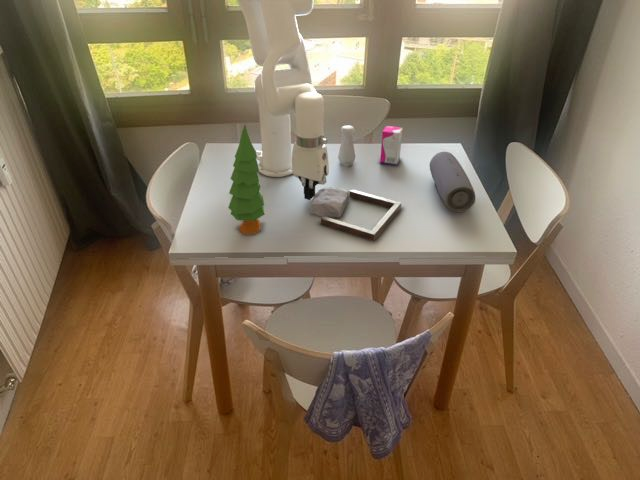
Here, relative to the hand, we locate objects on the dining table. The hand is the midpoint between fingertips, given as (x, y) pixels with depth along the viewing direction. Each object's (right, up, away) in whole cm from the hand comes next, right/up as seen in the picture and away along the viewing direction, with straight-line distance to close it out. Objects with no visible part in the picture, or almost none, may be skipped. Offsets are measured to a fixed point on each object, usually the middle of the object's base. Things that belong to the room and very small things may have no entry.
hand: (309, 197), depth 146 cm
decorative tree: (-16, -10, -12) cm, 22 cm away
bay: (+15, -6, -6) cm, 17 cm away
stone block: (+6, -3, -2) cm, 7 cm away
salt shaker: (+12, +13, +22) cm, 28 cm away
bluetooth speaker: (+42, 0, +4) cm, 42 cm away
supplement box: (+27, +14, +23) cm, 38 cm away
